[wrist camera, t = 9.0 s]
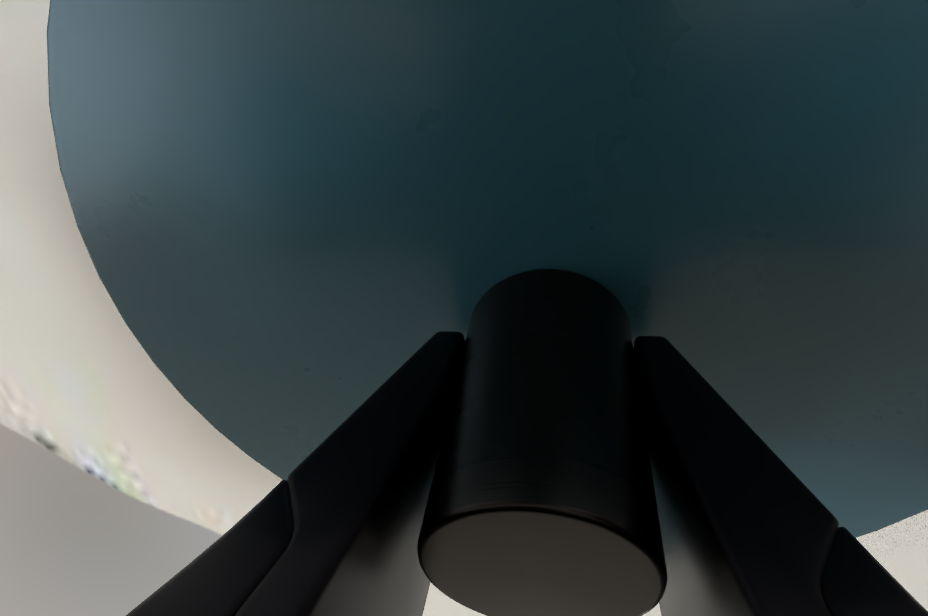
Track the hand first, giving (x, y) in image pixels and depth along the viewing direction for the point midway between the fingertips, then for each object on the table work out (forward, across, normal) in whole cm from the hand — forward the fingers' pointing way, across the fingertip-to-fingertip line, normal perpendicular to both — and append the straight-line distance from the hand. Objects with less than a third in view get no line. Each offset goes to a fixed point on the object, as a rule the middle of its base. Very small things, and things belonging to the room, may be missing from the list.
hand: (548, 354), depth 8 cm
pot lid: (+1, 0, 0) cm, 1 cm away
